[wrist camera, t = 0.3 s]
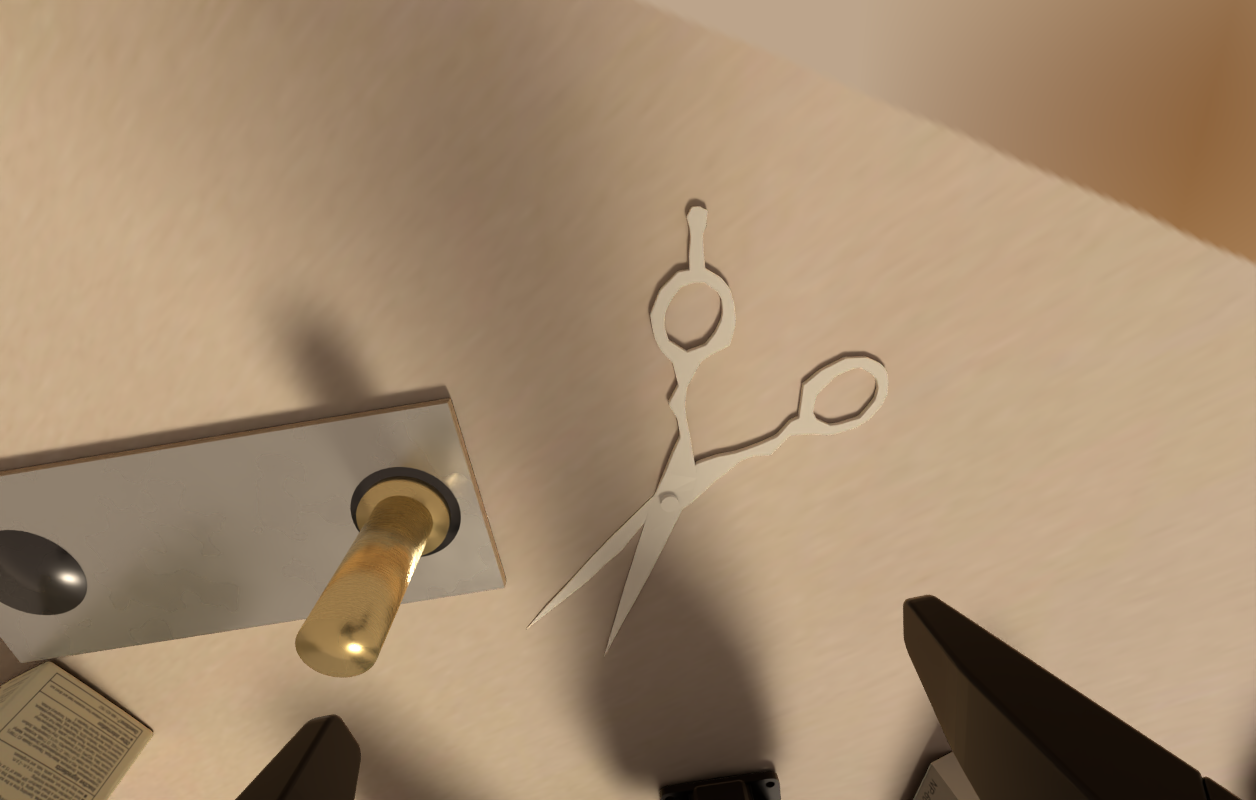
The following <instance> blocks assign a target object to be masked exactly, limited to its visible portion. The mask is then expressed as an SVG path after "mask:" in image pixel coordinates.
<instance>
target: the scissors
mask: <svg viewBox="0 0 1256 800" xmlns="http://www.w3.org/2000/svg"><path fill="white" fill-rule="evenodd" d="M707 214H708V210H706V209H704V208H702V207H700V206H691V208H690V210H689V212H688V214H687V215H686V219H687V222H688V226H689V232H690V242H689V253H688V259H689V269H685V270H680V271H677V272H676V273H675V274H674V275H673V276H672V277H671V278H670V279H669V280H668V281H667V282H666V283H665V284H664V285H663V286H662V287H661V288H660V289H659V292H658V294H657V297H656V299H655V302H654V304H653V307H652V310H651V312H650V318H651V325H652V329H653V333H654V337H655V340H656V342H657V344H658V346H659V348H660V349H661V351H662V353H663V354H664V355H665V356H666V357H667V358H668V359H669V360H670V361H671V362H672V363H673V367H674V371H675V375H676V379H677V382H678V384H677V386H676V387H675V389H674V391H673V393H672V395H671V397H670V399H669V401H668V404H669V406H670V408H671V409H672V411H673V412H674V414H675V416H676V417H677V421H678V427H679V433H680V435H679V437H678V439H677V441H676V443H675V446H674V448H673V450H672V452H671V455H670V457H669V460H668V462H667V465H666V467H665V470H664V472H663V475H662V477H661V480H660V482H659V485H658V487H657V490H656V492H655V494H654V495H653V496H652V497H651V498H650V499H649V500H648V501H647V502H646V503H645V504H644V505H643V506H642V507H641V508H640V509H639V510H638V511H637V512H636V513H635V514H634V515H633V516H632V517H631V518H630V519H629V520H628V521H627V522H626V523H625V524H624V525H623V526H622V527H621V528H619V529H618V530H617V531H616V532H615V533H614V534H613V535H612V536H611V537H610V538H609V539H608V540H607V541H606V542H605V543H604V544H603V545H602V547H601V548H600V549H599V550H598V551H597V552H596V553H595V554H594V555H593V556H592V557H591V558H590V559H589V560H588V561H587V562H586V563H585V565H584V566H583V567H582V568H581V569H580V570H579V571H578V572H577V573H576V574H575V576H574V577H573V578H572V579H571V580H570V581H569V582H568V583H567V584H566V585H565V586H564V587H563V588H562V589H561V591H560V592H559V593H558V594H557V595H556V596H555V597H554V598H553V599H552V600H551V601H550V602H549V603H548V604H547V605H546V606H545V607H544V609H543V610H542V611H541V612H540V613H539V614H538V616H537V617H536V618H535V619H534V620H533V622H532V623H531V624H530V625H529V626H528V628H529V627H530V626H531V625H533V624H534V623H535V622H536V621H538V620H539V619H540V618H542V617H543V616H544V615H545V614H547V613H548V612H549V611H551V610H552V609H553V608H554V607H556V606H557V605H558V604H560V603H561V602H562V601H563V600H565V599H566V598H567V597H569V596H570V595H571V594H572V593H574V592H575V591H576V590H578V589H579V588H580V587H582V586H583V585H584V584H585V583H586V582H587V581H588V580H590V579H591V578H592V577H593V576H594V575H595V574H596V573H597V572H598V571H599V570H600V569H601V568H602V567H603V566H604V565H605V564H607V563H608V562H609V561H610V560H611V559H612V558H613V557H615V556H616V555H617V554H618V553H619V552H620V551H622V550H623V548H624V547H625V546H626V545H627V543H628V542H629V541H630V540H631V538H632V537H633V536H634V535H635V534H636V532H637V531H638V530H639V529H640V528H641V527H642V525H643V524H644V527H643V531H642V534H641V537H640V540H639V543H638V546H637V549H636V552H635V556H634V559H633V562H632V565H631V568H630V571H629V574H628V577H627V580H626V584H625V587H624V590H623V594H622V597H621V601H620V604H619V607H618V611H617V614H616V617H615V621H614V624H613V628H612V631H611V634H610V638H609V641H608V645H607V648H606V651H605V654H606V652H607V651H608V649H609V647H610V645H611V643H612V642H613V640H614V638H615V636H616V634H617V632H618V631H619V629H620V627H621V625H622V623H623V622H624V620H625V618H626V616H627V614H628V613H629V611H630V609H631V607H632V605H633V604H634V602H635V600H636V598H637V596H638V595H639V593H640V591H641V589H642V587H643V585H644V584H645V582H646V580H647V578H648V576H649V574H650V573H651V571H652V569H653V567H654V565H655V563H656V561H657V559H658V557H659V555H660V553H661V551H662V549H663V547H664V545H665V543H666V541H667V539H668V537H669V535H670V533H671V531H672V529H673V527H674V525H675V523H676V521H677V520H678V517H679V515H680V513H681V511H682V510H683V509H684V508H685V507H687V506H688V505H690V504H691V503H692V502H693V501H695V500H696V499H697V498H698V497H699V496H700V495H701V494H702V493H703V492H704V491H705V490H707V489H708V488H709V487H710V486H711V485H712V484H713V483H714V482H715V481H716V480H718V479H719V478H720V477H722V476H723V475H724V474H726V473H727V472H728V471H730V470H731V469H732V468H733V467H734V466H736V465H737V464H738V463H739V462H740V461H743V460H745V459H748V458H751V457H753V456H767V455H771V454H772V453H773V452H774V451H775V450H776V449H777V448H778V447H779V446H780V445H781V444H782V443H783V442H784V441H785V440H786V439H787V438H788V437H789V436H793V435H808V434H817V435H835V434H838V433H842V432H845V431H848V430H851V429H855V428H857V427H858V426H860V425H862V424H863V423H865V422H866V421H868V420H870V419H871V417H872V416H873V415H874V414H875V413H876V412H877V410H878V409H879V408H880V407H881V406H882V404H883V402H884V400H885V398H886V396H887V392H888V375H887V371H886V369H885V368H884V367H883V366H882V365H881V364H880V363H879V362H877V361H875V360H873V359H871V358H869V357H867V356H851V357H842V358H840V359H839V360H837V361H835V362H833V363H831V364H829V365H827V366H825V367H823V368H821V369H819V370H818V371H817V372H816V373H814V374H813V375H812V376H811V377H809V378H808V379H807V380H806V381H805V382H803V383H802V388H801V395H800V402H799V409H798V416H796V417H794V418H792V419H790V420H789V421H788V422H787V423H786V424H785V425H784V426H783V427H782V428H781V429H780V430H779V432H778V433H777V434H776V435H774V436H772V437H769V438H767V439H765V440H762V441H760V442H758V443H755V444H752V445H750V446H747V447H744V448H741V449H738V450H735V451H730V452H725V453H720V454H715V455H712V456H709V457H706V458H703V459H701V460H698V461H696V462H694V456H693V450H692V444H691V438H690V432H689V428H688V423H687V418H686V409H685V401H686V392H687V387H688V385H689V383H690V381H691V379H692V377H693V376H694V374H695V372H696V370H697V368H698V367H699V365H700V363H701V362H702V361H703V360H705V359H706V358H708V357H709V356H711V355H713V354H715V353H717V352H718V351H720V350H722V349H724V348H726V347H728V346H730V343H731V340H732V336H733V333H734V329H735V324H736V316H735V304H734V301H733V297H732V294H731V291H730V288H729V287H728V285H727V284H726V283H725V282H724V281H723V279H722V278H721V277H720V276H718V275H717V274H715V273H713V272H712V271H710V270H708V269H707V268H705V261H704V247H703V232H704V230H705V228H706V221H707ZM692 283H706V284H707V285H708V286H710V287H711V288H713V289H714V290H716V291H717V293H718V294H719V296H720V298H721V308H722V312H721V318H720V321H719V323H718V325H717V327H716V329H715V331H714V332H713V334H712V335H711V336H710V338H709V339H708V340H707V341H706V343H705V344H702V345H699V346H697V347H694V348H691V349H688V350H685V349H684V348H682V347H680V346H679V345H677V344H675V343H674V342H672V341H671V340H669V339H668V337H667V333H666V330H665V320H664V318H665V313H666V310H667V308H668V306H669V304H670V302H671V300H672V298H673V297H674V295H675V294H676V293H677V292H678V291H679V289H680V288H681V287H683V286H686V285H689V284H692ZM855 368H862V369H864V370H865V371H867V372H869V373H870V374H872V375H873V376H874V377H875V382H876V390H875V393H874V397H873V399H872V400H871V401H870V403H869V404H868V405H867V406H866V407H865V408H864V410H863V411H862V412H861V413H860V414H859V415H858V416H856V417H853V418H850V419H847V420H843V421H840V422H837V423H826V422H824V421H822V420H820V419H817V418H816V417H815V415H814V413H813V410H814V405H815V400H816V396H817V395H818V394H819V393H820V392H821V391H822V389H823V388H824V387H826V386H827V385H828V384H829V383H830V382H831V381H832V380H833V379H834V378H835V377H836V376H838V375H840V374H842V373H845V372H847V371H849V370H852V369H855ZM604 656H605V655H604Z"/></svg>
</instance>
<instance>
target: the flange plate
mask: <svg viewBox="0 0 1256 800" xmlns="http://www.w3.org/2000/svg"><path fill="white" fill-rule="evenodd" d="M394 476H407V477H413V478H417V479H420V480H422V481H425V482H427V483H428V484H430V485H432V486H433V487H434V488H436V489H437V490H438V491H439V492H440V493H441V494H442V495H443V497H444V498H445V499H446V501H447V503H448V505H449V508H450V512H451V523H450V527H449V529H448V532H447V534H446V537H445V539H444V540H443V542H442V543H441V544H440V545H439V546H438V547H437V548H436V549H435V550H433V551H431V552H429V553H427V554H425V555H422V556H421V557H420V559H419V562H418V564H417V566H416V569H415V571H414V573H413V576H412V578H411V580H410V583H409V585H408V587H407V590H406V592H405V594H404V597H403V599H402V601H401V604H405V603H411V602H417V601H424V600H430V599H437V598H443V597H449V596H456V595H462V594H469V593H475V592H481V591H488V590H494V589H501V588H505V585H506V577H505V574H504V571H503V567H502V564H501V561H500V557H499V554H498V551H497V548H496V544H495V541H494V538H493V535H492V531H491V528H490V525H489V522H488V518H487V515H486V512H485V509H484V505H483V502H482V499H481V495H480V492H479V489H478V486H477V482H476V479H475V476H474V473H473V469H472V466H471V463H470V460H469V456H468V453H467V450H466V447H465V443H464V440H463V437H462V433H461V430H460V427H459V424H458V420H457V417H456V414H455V411H454V407H453V404H452V401H451V398H446V399H440V400H434V401H428V402H422V403H415V404H409V405H403V406H397V407H391V408H385V409H379V410H373V411H367V412H361V413H354V414H348V415H342V416H336V417H330V418H324V419H318V420H312V421H306V422H299V423H293V424H287V425H281V426H275V427H269V428H263V429H257V430H251V431H245V432H238V433H232V434H226V435H220V436H214V437H208V438H202V439H196V440H190V441H184V442H177V443H171V444H165V445H159V446H153V447H147V448H141V449H135V450H129V451H122V452H116V453H110V454H104V455H98V456H92V457H86V458H80V459H74V460H68V461H61V462H55V463H49V464H43V465H37V466H31V467H25V468H19V469H13V470H6V471H0V637H1V639H2V640H3V641H4V643H5V644H6V645H7V646H8V648H9V649H10V650H11V651H12V653H13V654H14V655H15V656H16V658H17V659H18V660H19V662H20V663H26V662H33V661H39V660H45V659H52V658H58V657H65V656H71V655H78V654H84V653H90V652H97V651H103V650H110V649H116V648H122V647H129V646H135V645H142V644H148V643H154V642H161V641H167V640H174V639H180V638H187V637H193V636H199V635H206V634H212V633H219V632H225V631H231V630H238V629H244V628H251V627H257V626H263V625H270V624H276V623H283V622H289V621H296V620H302V619H307V617H308V616H309V614H310V612H311V611H312V609H313V608H314V606H315V604H316V603H317V601H318V599H319V598H320V596H321V594H322V593H323V591H324V590H325V588H326V586H327V585H328V583H329V581H330V580H331V578H332V576H333V575H334V573H335V572H336V570H337V568H338V567H339V565H340V563H341V562H342V560H343V558H344V557H345V555H346V553H347V552H348V550H349V549H350V547H351V545H352V544H353V542H354V540H355V539H356V537H357V535H358V534H359V532H360V530H359V527H358V524H357V520H356V511H357V507H358V504H359V502H360V500H361V499H362V497H363V496H364V494H365V493H366V491H367V490H368V489H369V488H370V487H371V486H372V485H373V484H375V483H376V482H378V481H380V480H382V479H385V478H389V477H394Z"/></svg>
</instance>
